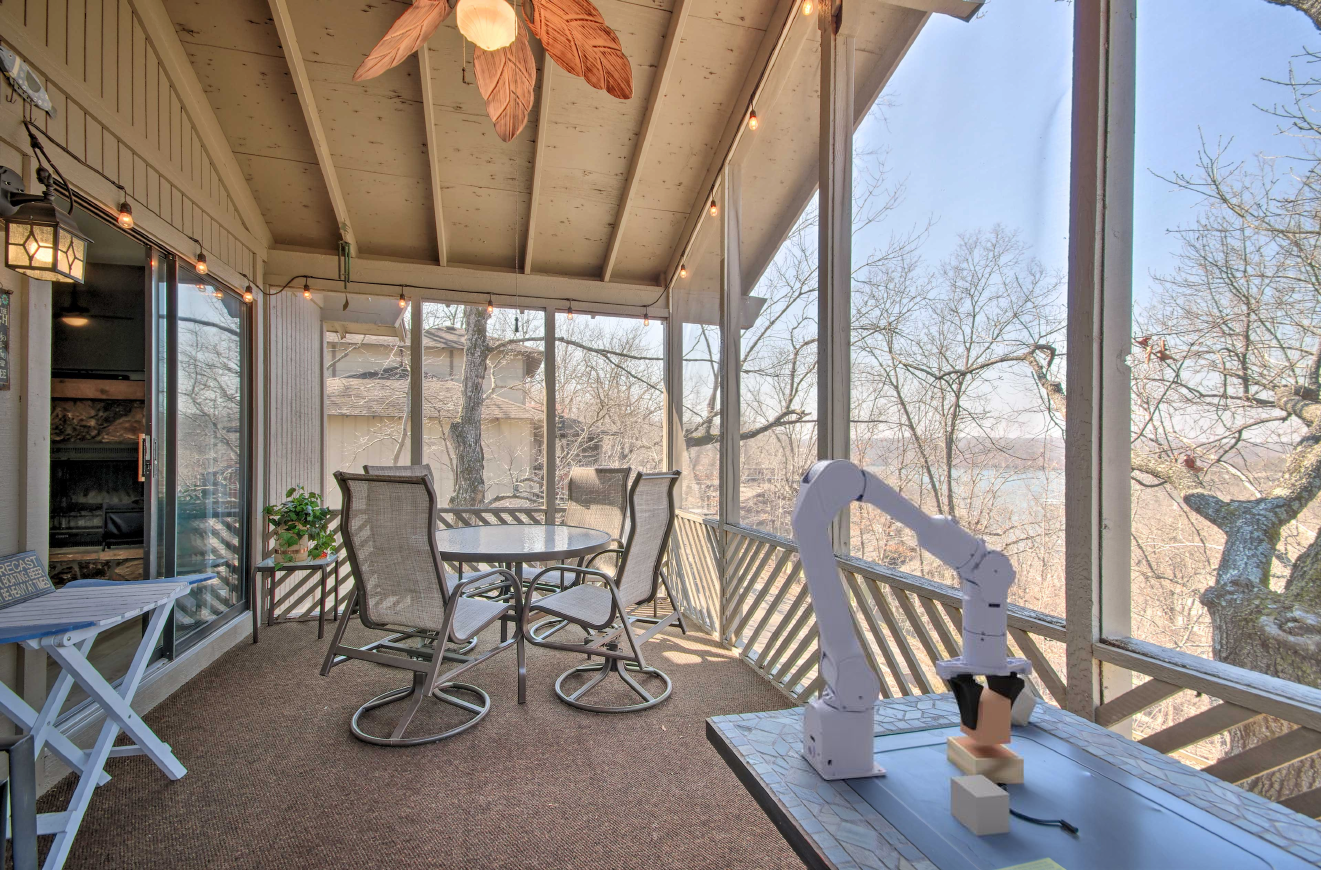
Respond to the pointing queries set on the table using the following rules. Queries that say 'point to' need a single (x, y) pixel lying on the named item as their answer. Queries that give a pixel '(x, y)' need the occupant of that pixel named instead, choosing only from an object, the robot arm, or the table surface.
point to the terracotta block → (991, 720)
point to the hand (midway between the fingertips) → (983, 726)
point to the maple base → (985, 760)
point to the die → (1021, 705)
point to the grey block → (980, 804)
